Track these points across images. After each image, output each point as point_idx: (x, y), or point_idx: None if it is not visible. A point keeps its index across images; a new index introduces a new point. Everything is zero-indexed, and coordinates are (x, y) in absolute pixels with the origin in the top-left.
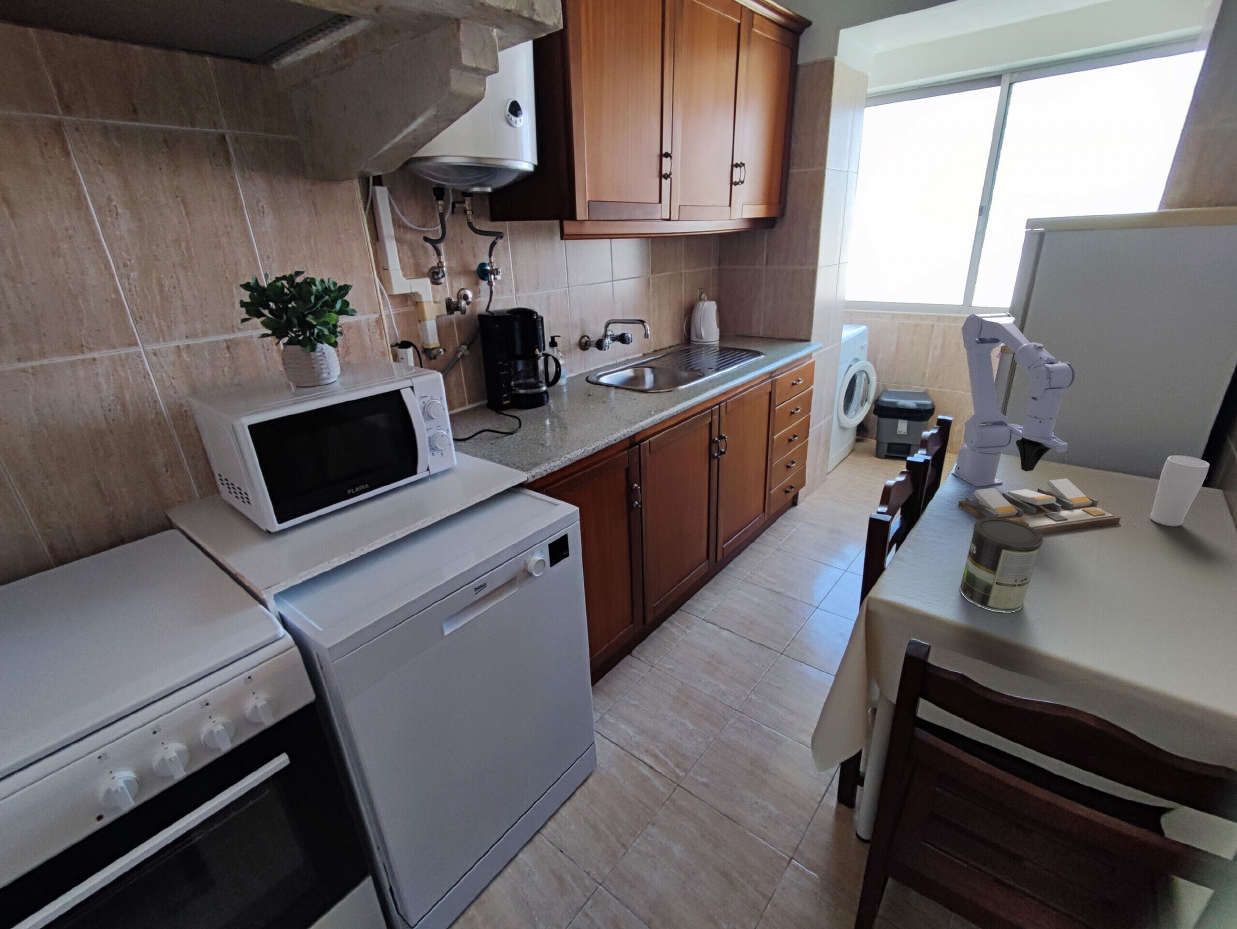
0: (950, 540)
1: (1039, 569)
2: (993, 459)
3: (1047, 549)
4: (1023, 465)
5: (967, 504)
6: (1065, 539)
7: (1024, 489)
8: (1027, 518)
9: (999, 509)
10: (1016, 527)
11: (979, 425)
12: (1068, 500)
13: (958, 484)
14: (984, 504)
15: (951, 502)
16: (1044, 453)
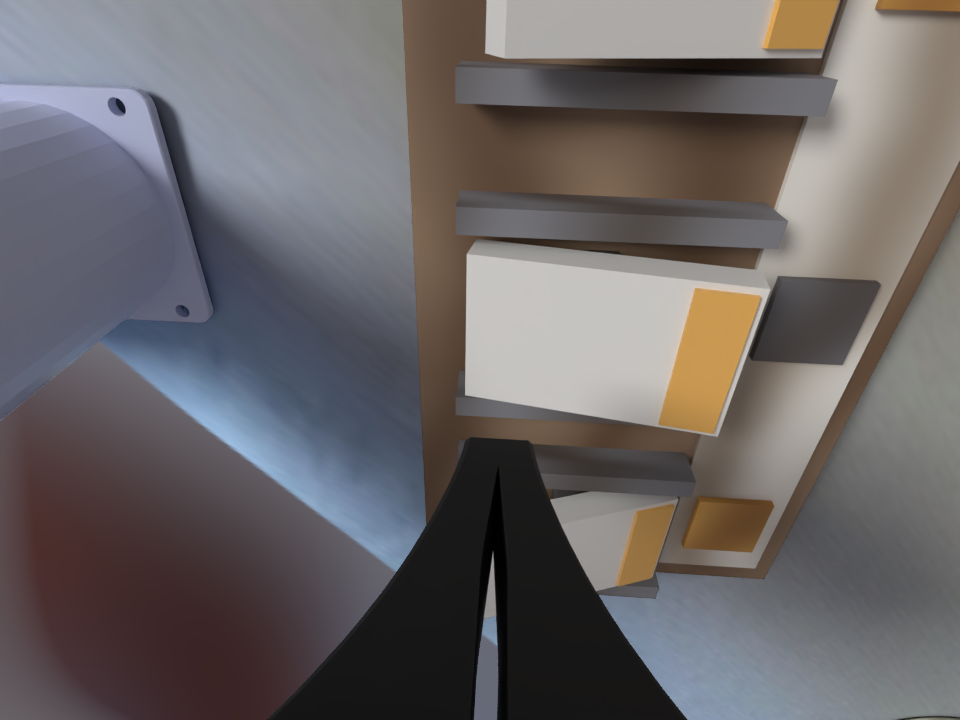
0: None
1: (948, 613)
2: (20, 332)
3: (902, 508)
4: (491, 561)
5: None
6: (919, 380)
7: (472, 275)
8: (721, 457)
9: (634, 570)
10: None
11: None
12: (762, 56)
13: (171, 374)
14: None
15: (389, 527)
16: (637, 668)
